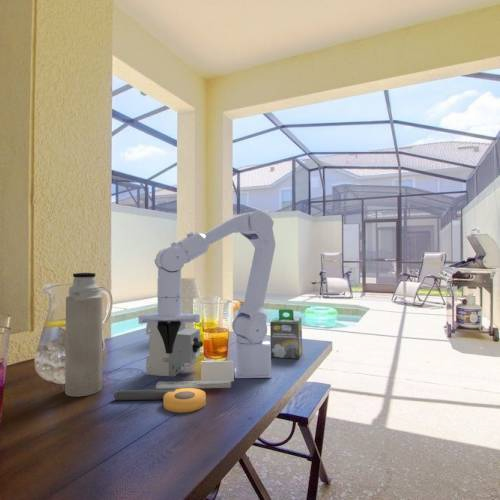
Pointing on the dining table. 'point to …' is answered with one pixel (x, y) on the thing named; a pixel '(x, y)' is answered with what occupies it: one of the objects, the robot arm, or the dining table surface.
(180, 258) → the robot arm
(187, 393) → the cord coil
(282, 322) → the chalk box
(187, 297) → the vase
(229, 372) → the panel
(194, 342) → the circuit breaker
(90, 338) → the thermos bottle
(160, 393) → the grey rounded rod
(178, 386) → the rail
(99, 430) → the dining table surface
